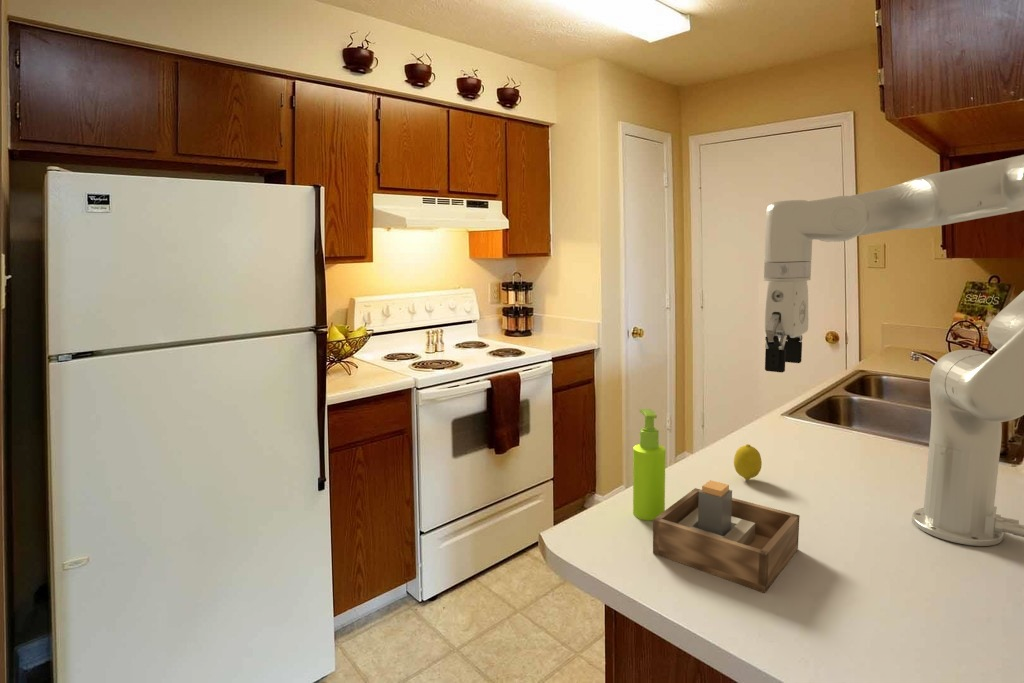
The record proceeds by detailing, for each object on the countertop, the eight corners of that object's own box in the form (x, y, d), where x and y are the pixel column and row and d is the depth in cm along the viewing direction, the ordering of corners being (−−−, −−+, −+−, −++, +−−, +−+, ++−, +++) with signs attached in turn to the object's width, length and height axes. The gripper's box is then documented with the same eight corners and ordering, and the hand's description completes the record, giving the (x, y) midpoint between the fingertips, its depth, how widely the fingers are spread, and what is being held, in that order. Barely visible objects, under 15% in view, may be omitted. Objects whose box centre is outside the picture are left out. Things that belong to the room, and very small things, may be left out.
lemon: (756, 475, 127) (757, 440, 126) (764, 485, 122) (765, 448, 120) (730, 474, 128) (731, 440, 126) (737, 485, 122) (738, 448, 121)
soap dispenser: (657, 504, 114) (658, 406, 111) (668, 520, 108) (669, 416, 104) (628, 505, 114) (628, 407, 111) (637, 521, 107) (637, 417, 104)
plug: (730, 540, 97) (732, 484, 96) (720, 550, 94) (722, 492, 93) (707, 533, 100) (709, 478, 98) (697, 542, 97) (698, 486, 95)
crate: (797, 549, 96) (799, 515, 95) (764, 593, 84) (766, 554, 83) (694, 518, 108) (695, 488, 107) (652, 553, 96) (653, 519, 95)
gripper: (795, 274, 93) (791, 378, 96) (823, 269, 106) (819, 361, 109) (748, 274, 98) (745, 372, 101) (780, 270, 111) (777, 357, 114)
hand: (783, 366), depth 105 cm, fingers open, 9 cm apart
